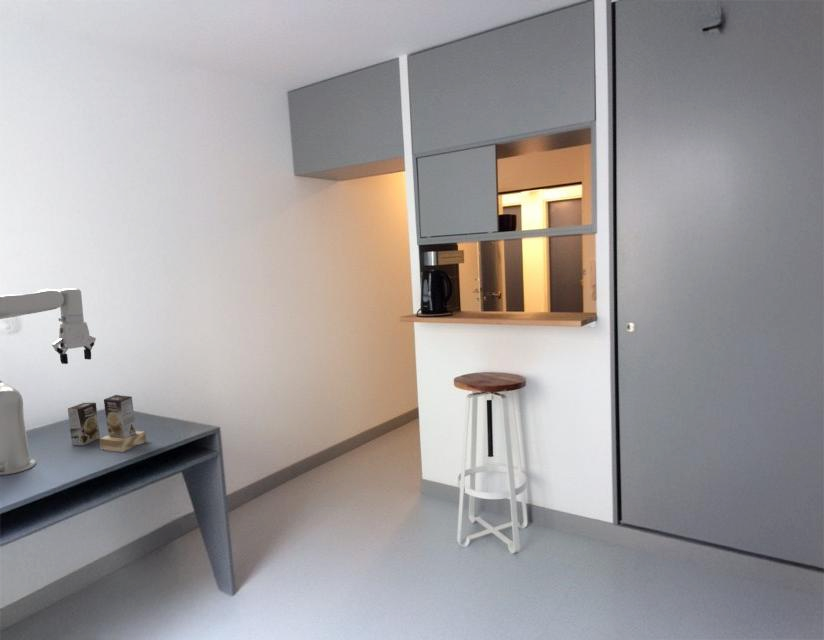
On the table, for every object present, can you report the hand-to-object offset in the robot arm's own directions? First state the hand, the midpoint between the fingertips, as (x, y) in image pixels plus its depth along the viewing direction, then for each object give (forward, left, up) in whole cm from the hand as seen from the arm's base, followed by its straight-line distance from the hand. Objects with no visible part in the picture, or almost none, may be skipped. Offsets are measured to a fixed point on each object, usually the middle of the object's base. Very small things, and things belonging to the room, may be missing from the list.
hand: (76, 361), depth 215 cm
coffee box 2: (+7, -12, -32) cm, 35 cm away
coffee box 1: (+6, +9, -37) cm, 39 cm away
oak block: (+7, -12, -37) cm, 40 cm away
